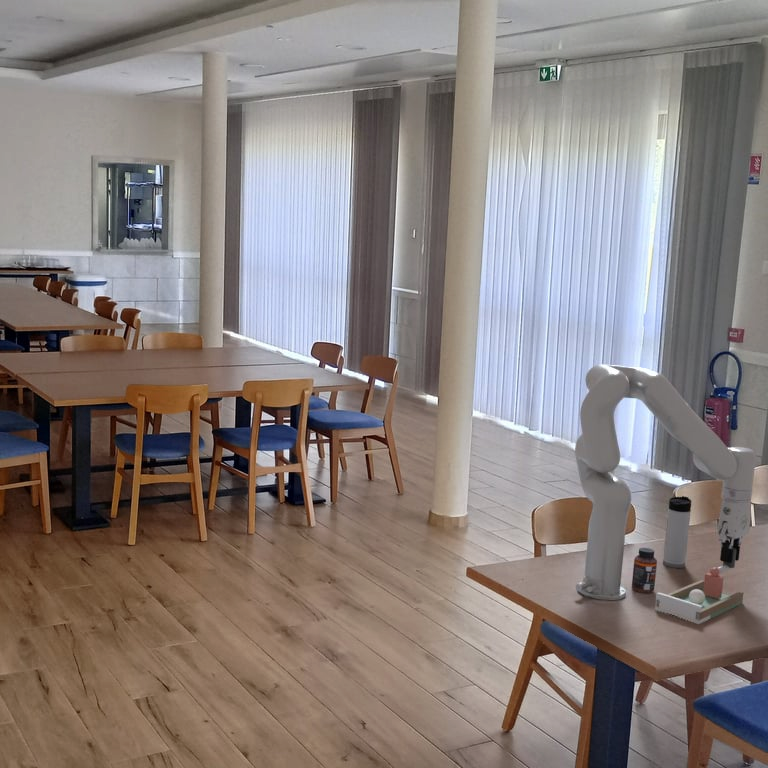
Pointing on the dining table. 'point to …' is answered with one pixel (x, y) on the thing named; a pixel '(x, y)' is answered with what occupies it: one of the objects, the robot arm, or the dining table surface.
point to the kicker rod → (717, 579)
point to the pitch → (683, 608)
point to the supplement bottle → (644, 571)
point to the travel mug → (677, 532)
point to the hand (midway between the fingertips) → (729, 560)
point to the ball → (697, 596)
